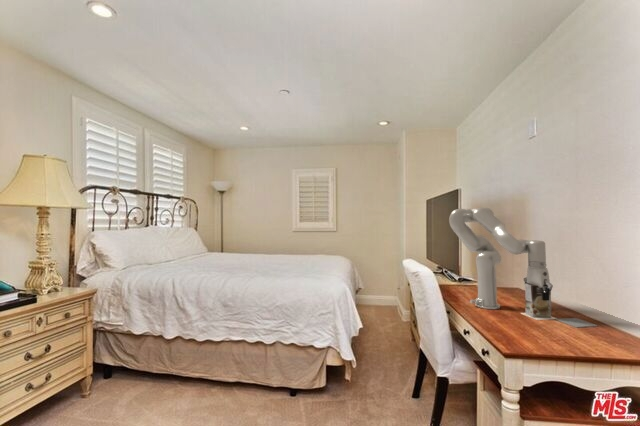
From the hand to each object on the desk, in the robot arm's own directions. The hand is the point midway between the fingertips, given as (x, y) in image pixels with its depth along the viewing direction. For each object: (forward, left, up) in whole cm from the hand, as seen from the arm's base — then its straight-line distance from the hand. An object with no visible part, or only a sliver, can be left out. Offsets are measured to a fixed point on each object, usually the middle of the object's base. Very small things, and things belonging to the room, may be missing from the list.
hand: (537, 297), depth 158 cm
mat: (+9, -12, -9) cm, 18 cm away
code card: (0, 0, -9) cm, 9 cm away
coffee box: (0, 0, -9) cm, 9 cm away
